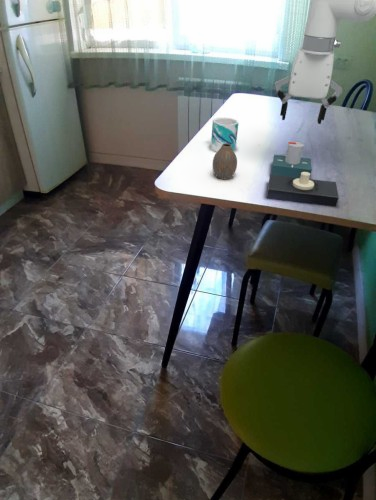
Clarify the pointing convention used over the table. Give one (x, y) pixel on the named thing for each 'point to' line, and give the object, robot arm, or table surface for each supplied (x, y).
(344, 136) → the table surface
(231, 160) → the vase
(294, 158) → the tap knob
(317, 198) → the black plate with hole
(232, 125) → the mug
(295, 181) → the stopper
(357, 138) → the table surface
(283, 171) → the panel
